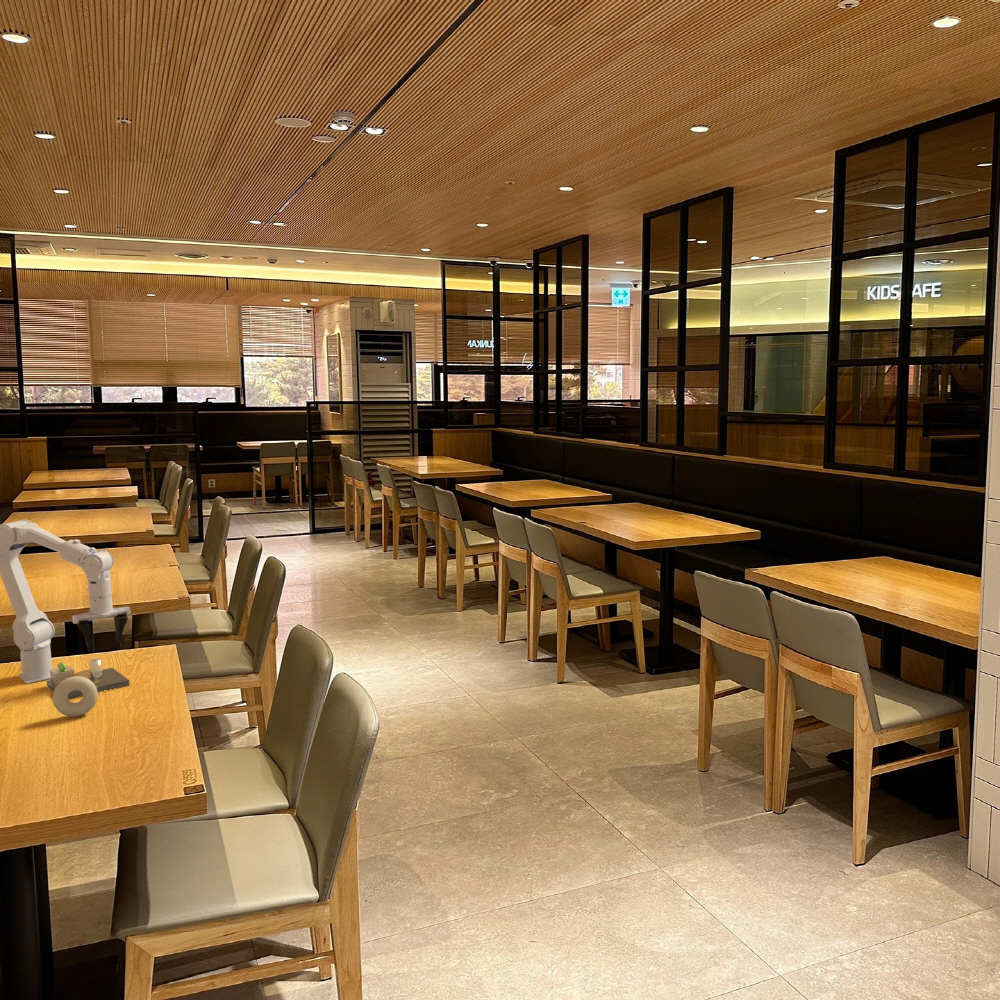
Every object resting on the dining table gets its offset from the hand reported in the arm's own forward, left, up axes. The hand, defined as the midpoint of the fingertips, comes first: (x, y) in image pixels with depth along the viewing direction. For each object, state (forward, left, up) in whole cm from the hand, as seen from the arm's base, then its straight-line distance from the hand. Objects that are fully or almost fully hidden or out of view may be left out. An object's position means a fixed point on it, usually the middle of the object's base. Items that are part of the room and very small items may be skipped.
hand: (104, 644), depth 244 cm
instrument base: (+2, -6, -10) cm, 12 cm away
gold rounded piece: (+5, -5, -8) cm, 11 cm away
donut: (+25, -14, -10) cm, 30 cm away
